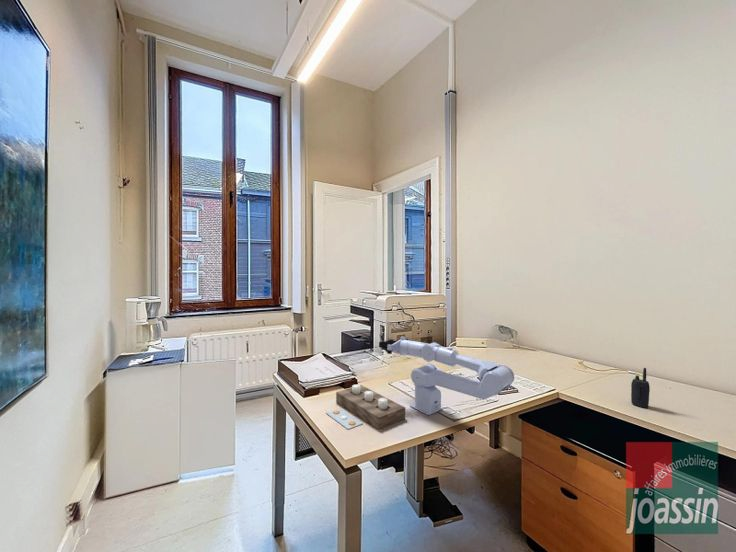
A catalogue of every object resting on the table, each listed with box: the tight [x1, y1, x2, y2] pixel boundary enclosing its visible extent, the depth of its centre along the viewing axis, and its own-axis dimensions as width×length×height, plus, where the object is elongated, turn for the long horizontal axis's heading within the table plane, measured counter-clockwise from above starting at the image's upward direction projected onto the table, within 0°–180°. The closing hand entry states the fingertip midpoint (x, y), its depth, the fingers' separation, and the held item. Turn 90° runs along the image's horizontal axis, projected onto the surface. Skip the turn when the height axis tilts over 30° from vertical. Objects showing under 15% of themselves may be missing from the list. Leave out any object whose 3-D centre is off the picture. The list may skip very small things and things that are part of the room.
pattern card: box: [326, 408, 364, 430], centre depth 111 cm, size 14×6×1 cm, turn 38°
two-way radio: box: [630, 367, 651, 409], centre depth 122 cm, size 6×4×15 cm
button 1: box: [351, 384, 361, 395], centre depth 124 cm, size 3×3×4 cm
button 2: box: [378, 397, 387, 411], centre depth 112 cm, size 3×3×4 cm
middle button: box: [365, 390, 373, 402], centre depth 118 cm, size 3×3×4 cm
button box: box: [335, 384, 406, 430], centre depth 118 cm, size 26×12×4 cm, turn 38°
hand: (386, 343), depth 134 cm, fingers open, 7 cm apart
